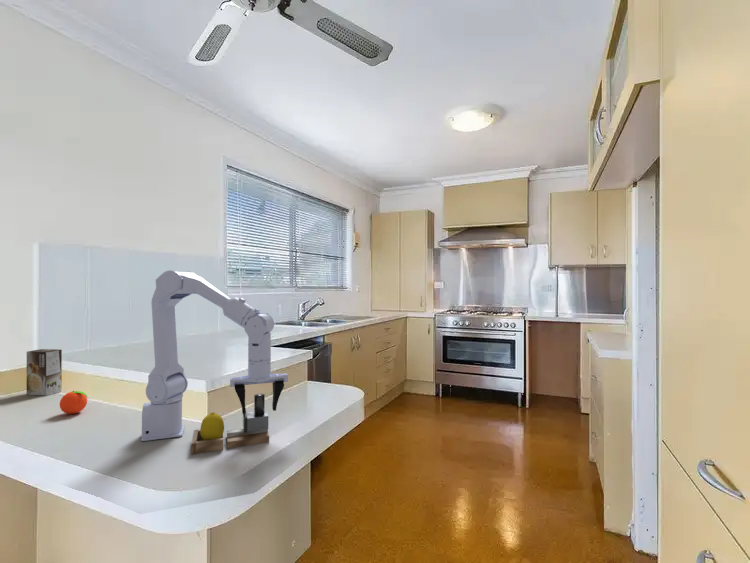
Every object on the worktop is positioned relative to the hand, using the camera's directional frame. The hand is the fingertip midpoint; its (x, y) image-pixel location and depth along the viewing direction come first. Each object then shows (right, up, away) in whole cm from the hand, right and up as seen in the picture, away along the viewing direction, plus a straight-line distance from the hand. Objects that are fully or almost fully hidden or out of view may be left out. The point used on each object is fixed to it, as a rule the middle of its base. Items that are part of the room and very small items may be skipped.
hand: (259, 411), depth 103 cm
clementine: (-64, -8, +20) cm, 67 cm away
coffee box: (-94, -8, +44) cm, 103 cm away
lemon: (-11, -7, -4) cm, 13 cm away
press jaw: (-1, -4, 0) cm, 4 cm away
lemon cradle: (-11, -7, -4) cm, 13 cm away
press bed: (-3, -7, -1) cm, 7 cm away
